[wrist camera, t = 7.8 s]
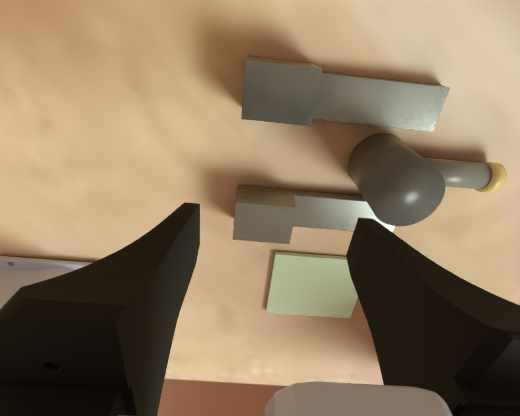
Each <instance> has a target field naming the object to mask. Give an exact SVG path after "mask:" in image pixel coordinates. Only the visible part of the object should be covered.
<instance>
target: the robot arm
mask: <svg viewBox="0 0 520 416" xmlns="http://www.w3.org/2000/svg"><path fill="white" fill-rule="evenodd" d="M199 245H200V204H196V203H183V204H182V205H181V206H180V207H179V208H177V209H176V210H175V211H174V212H173V213H172V214H171V215H169V216H168V217H167V218H166V219H165V220H163V221H162V222H161V223H160V224H158V225H157V226H156V227H155V228H153V229H152V230H151V231H149V232H148V233H146V234H145V235H144V236H142V237H141V238H139V239H138V240H136V241H134V242H133V243H131V244H129V245H128V246H126V247H124V248H122V249H121V250H119V251H117V252H115V253H113V254H111V255H109V256H107V257H105V258H102V259H100V260H98V261H96V262H94V263H89V262H76V261H62V260H48V259H35V258H21V257H8V256H0V416H157V413H158V408H159V402H160V397H161V392H162V387H163V383H164V378H165V373H166V368H167V363H168V359H169V354H170V349H171V345H172V340H173V336H174V332H175V327H176V323H177V319H178V316H179V312H180V309H181V306H182V303H183V300H184V297H185V294H186V292H187V289H188V286H189V283H190V280H191V277H192V274H193V271H194V268H195V265H196V260H197V255H198V250H199ZM346 257H347V262H348V267H349V272H350V276H351V279H352V282H353V284H354V287H355V290H356V293H357V295H358V298H359V300H360V303H361V306H362V308H363V311H364V314H365V316H366V319H367V321H368V324H369V327H370V330H371V333H372V337H373V341H374V345H375V349H376V353H377V357H378V361H379V365H380V370H381V374H382V378H383V383H384V385H371V384H352V383H334V382H306V383H296V384H293V385H291V386H288V387H286V388H284V389H282V390H279V391H277V392H276V393H275V395H274V396H273V397H272V398H271V400H270V401H269V403H268V404H267V405H266V408H265V413H264V416H520V305H517V304H515V303H512V302H510V301H508V300H505V299H503V298H501V297H498V296H496V295H494V294H492V293H490V292H487V291H485V290H483V289H481V288H479V287H477V286H475V285H473V284H471V283H469V282H467V281H465V280H464V279H462V278H460V277H458V276H456V275H455V274H453V273H451V272H449V271H448V270H446V269H444V268H442V267H441V266H439V265H438V264H436V263H434V262H433V261H431V260H430V259H428V258H427V257H425V256H424V255H422V254H421V253H420V252H418V251H417V250H415V249H414V248H412V247H411V246H410V245H408V244H407V243H406V242H404V241H403V240H402V239H400V238H399V237H398V236H396V235H395V234H394V233H392V232H391V231H390V230H388V229H387V228H386V227H384V226H383V225H382V224H380V223H379V222H377V221H376V220H374V219H371V218H359V217H358V220H357V223H356V226H355V230H354V233H353V236H352V239H351V242H350V245H349V249H348V252H347V255H346Z"/></svg>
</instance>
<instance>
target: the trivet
mask: <svg viewBox="0 0 520 416" xmlns="http://www.w3.org/2000/svg"><path fill="white" fill-rule="evenodd" d="M357 299H358V295H357V293H356V290H355V287H354V284H353V282H352V279H351V276H350V272H349V267H348V262H347V257H342V256H330V255H317V254H304V253H291V252H278V251H275V257H274V263H273V270H272V276H271V282H270V288H269V294H268V300H267V306H266V313H274V314H289V315H304V316H320V317H335V318H350V317H351V315H352V312H353V309H354V307H355V304H356V301H357Z"/></svg>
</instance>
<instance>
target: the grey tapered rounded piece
mask: <svg viewBox="0 0 520 416" xmlns="http://www.w3.org/2000/svg"><path fill="white" fill-rule="evenodd" d="M348 169H349V173H350V176H351V177H352V179H353V181H354V182H355V184H356V186H357V187H358V189H359V190H360V192H361V194H362V195H363V197H364V198H365V200H366V202H367V203H368V205H369V206H370V208H371V210H372V211H373V213H374V214H375V216H376V217H377V218H378V219H379V220H380V221H382V222H383V223H385V224H388V225H391V226H407V225H411V224H415V223H417V222H419V221H421V220H423V219H425V218H426V217H428V216H429V215H430V214H432V213H433V212H434V211H435V209H436V208H437V207H438V206H439V204H440V203H441V201H442V199H443V196H444V193H445V186H447V187H458V188H470V189H475V190H477V191H480V192H496V191H498V190H500V189H501V188H502V187H503V185H504V183H505V181H506V175H507V174H506V169H505V167H504V166H503V165H502V164H499V163H491V162H483V163H479V162H469V161H458V160H447V159H436V158H425V157H421V156H420V155H419V154H417V153H416V152H415V151H414V150H412V149H411V148H410V147H408V146H407V145H406V144H405V143H403V142H402V141H401V140H400V139H398V138H397V137H395V136H393V135H389V134H377V135H373V136H370V137H368V138H366V139H365V140H363V141H362V142H361V143H359V144H358V145H357V146H356V148H355V149H354V150H353V152H352V154H351V156H350V159H349V163H348Z"/></svg>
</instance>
